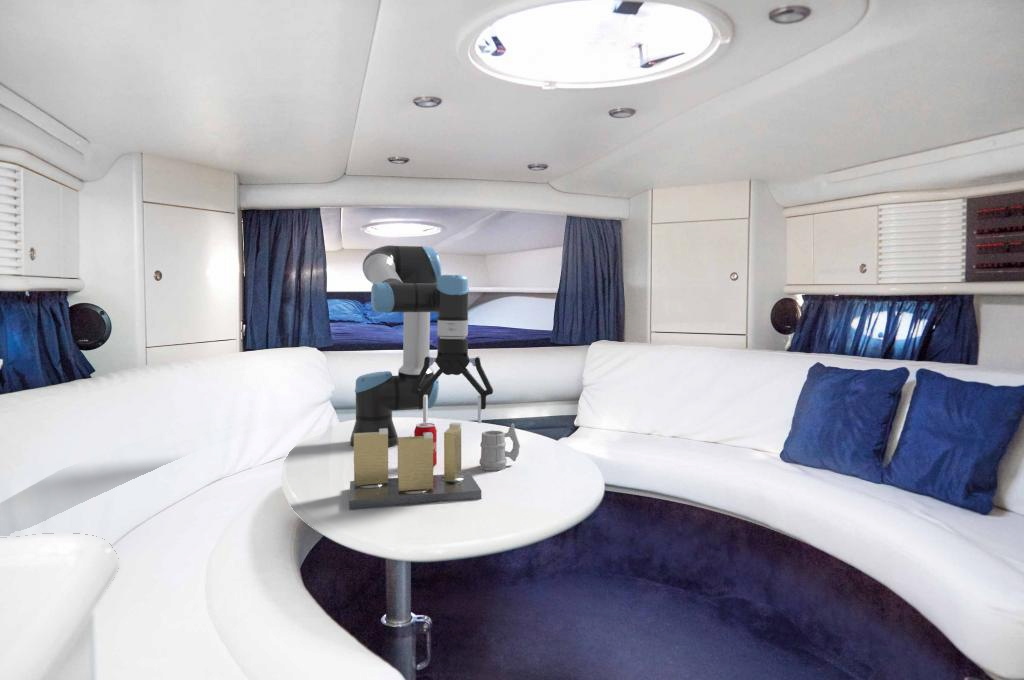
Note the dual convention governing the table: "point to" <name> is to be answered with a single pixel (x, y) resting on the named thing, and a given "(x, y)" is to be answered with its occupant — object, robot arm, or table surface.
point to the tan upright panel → (452, 452)
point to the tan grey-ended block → (415, 462)
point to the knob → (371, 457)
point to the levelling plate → (413, 492)
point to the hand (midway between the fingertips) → (452, 421)
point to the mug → (497, 449)
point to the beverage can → (425, 428)
